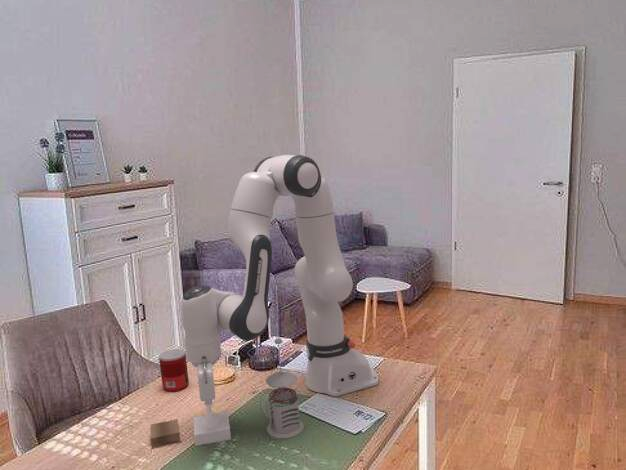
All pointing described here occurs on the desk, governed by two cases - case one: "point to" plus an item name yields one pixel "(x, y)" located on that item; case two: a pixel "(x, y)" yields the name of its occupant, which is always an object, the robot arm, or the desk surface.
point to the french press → (288, 421)
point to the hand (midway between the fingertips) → (208, 400)
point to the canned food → (174, 370)
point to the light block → (212, 430)
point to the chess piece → (209, 419)
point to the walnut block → (165, 433)
